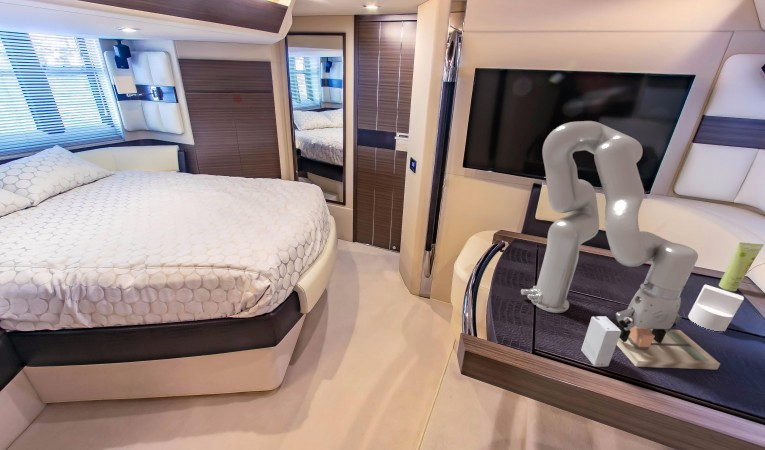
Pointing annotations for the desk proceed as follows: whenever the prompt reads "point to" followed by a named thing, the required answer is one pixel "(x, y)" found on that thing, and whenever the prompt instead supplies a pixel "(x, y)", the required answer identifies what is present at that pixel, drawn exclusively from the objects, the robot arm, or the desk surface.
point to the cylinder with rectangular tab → (715, 308)
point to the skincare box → (600, 341)
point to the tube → (739, 265)
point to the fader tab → (641, 337)
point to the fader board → (669, 353)
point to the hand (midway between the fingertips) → (638, 338)
